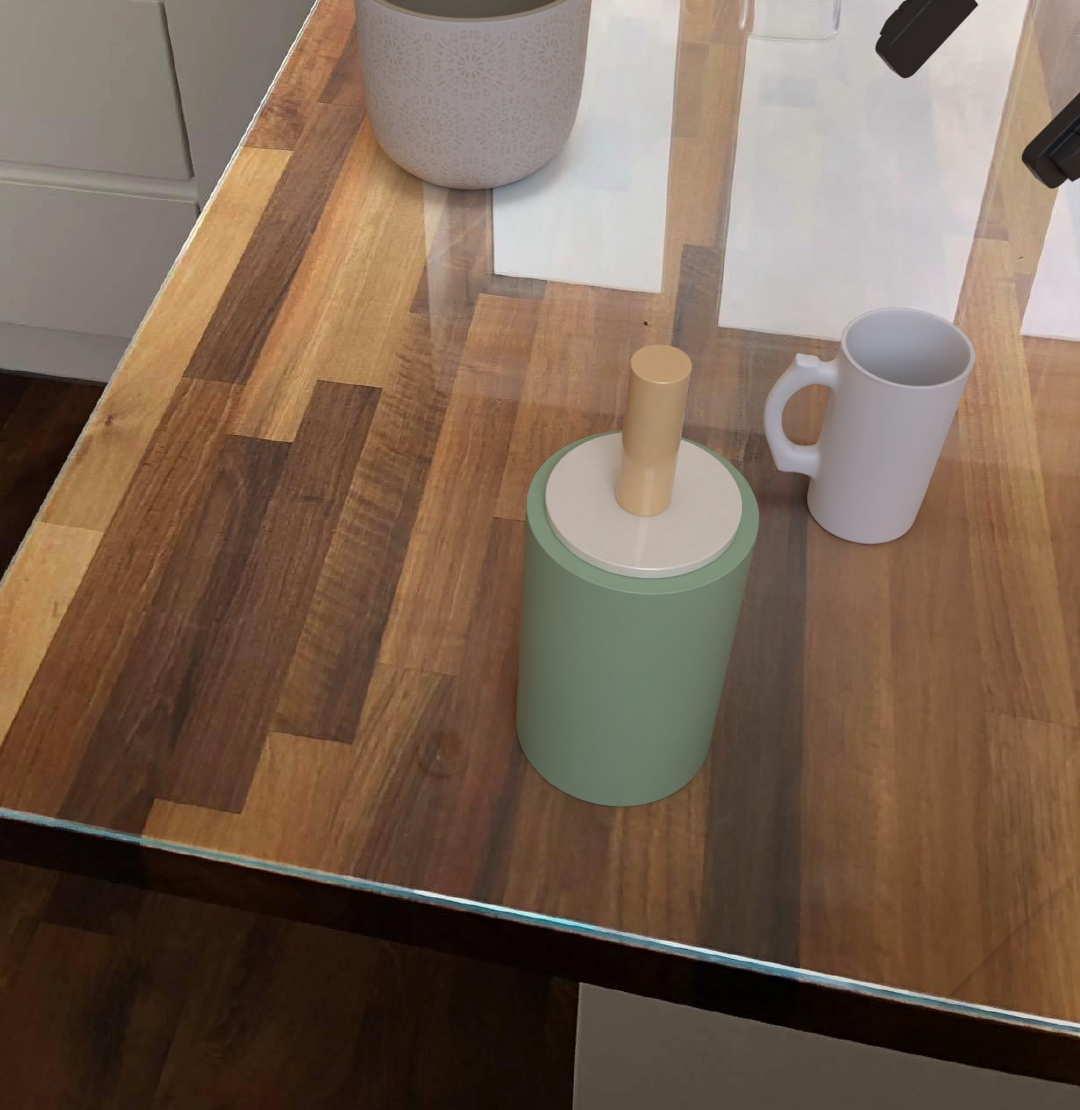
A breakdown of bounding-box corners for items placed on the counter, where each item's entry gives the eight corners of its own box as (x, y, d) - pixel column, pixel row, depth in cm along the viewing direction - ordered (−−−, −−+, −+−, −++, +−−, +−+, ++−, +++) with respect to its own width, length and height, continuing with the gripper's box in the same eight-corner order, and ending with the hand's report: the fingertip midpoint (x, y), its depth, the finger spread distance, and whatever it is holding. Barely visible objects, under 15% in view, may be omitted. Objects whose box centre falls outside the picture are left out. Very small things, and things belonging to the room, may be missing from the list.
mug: (913, 471, 84) (966, 311, 75) (926, 553, 80) (983, 392, 71) (743, 459, 85) (775, 300, 76) (746, 539, 81) (781, 379, 72)
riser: (751, 733, 72) (808, 515, 60) (611, 843, 67) (643, 632, 56) (613, 619, 77) (640, 399, 65) (476, 714, 73) (478, 497, 61)
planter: (551, 88, 116) (561, -99, 105) (606, 202, 104) (623, 5, 93) (349, 112, 114) (336, -75, 103) (381, 229, 103) (371, 33, 92)
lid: (781, 514, 60) (816, 369, 54) (643, 611, 56) (663, 468, 51) (641, 415, 64) (658, 272, 59) (504, 499, 61) (509, 356, 55)
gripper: (1144, -412, 48) (801, -17, 54) (1513, -293, 39) (1053, 166, 45) (1204, -266, 53) (885, 80, 59) (1542, -131, 44) (1127, 262, 50)
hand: (958, 117), depth 52 cm, fingers open, 8 cm apart
